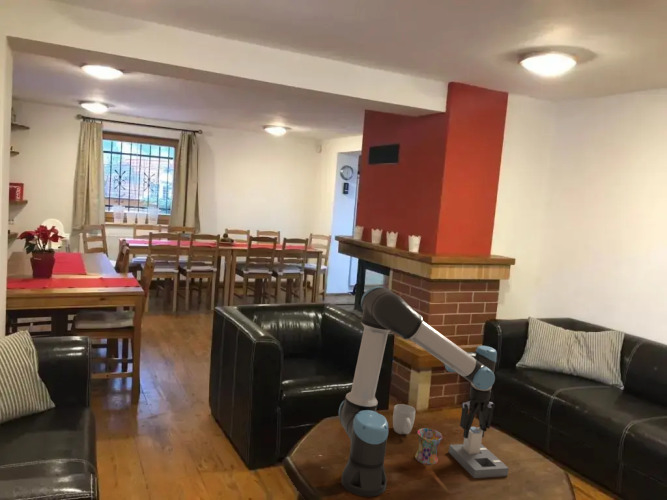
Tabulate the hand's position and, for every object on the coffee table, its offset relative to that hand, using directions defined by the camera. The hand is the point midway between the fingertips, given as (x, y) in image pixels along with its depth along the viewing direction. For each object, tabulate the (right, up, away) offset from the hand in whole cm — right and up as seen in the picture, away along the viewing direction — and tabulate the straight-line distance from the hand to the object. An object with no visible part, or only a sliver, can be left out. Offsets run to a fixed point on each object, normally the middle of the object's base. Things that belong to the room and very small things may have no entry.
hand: (471, 445), depth 198 cm
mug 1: (-24, -1, +16) cm, 29 cm away
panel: (+1, -6, -4) cm, 7 cm away
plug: (0, -4, 0) cm, 4 cm away
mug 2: (-18, -4, -2) cm, 19 cm away
